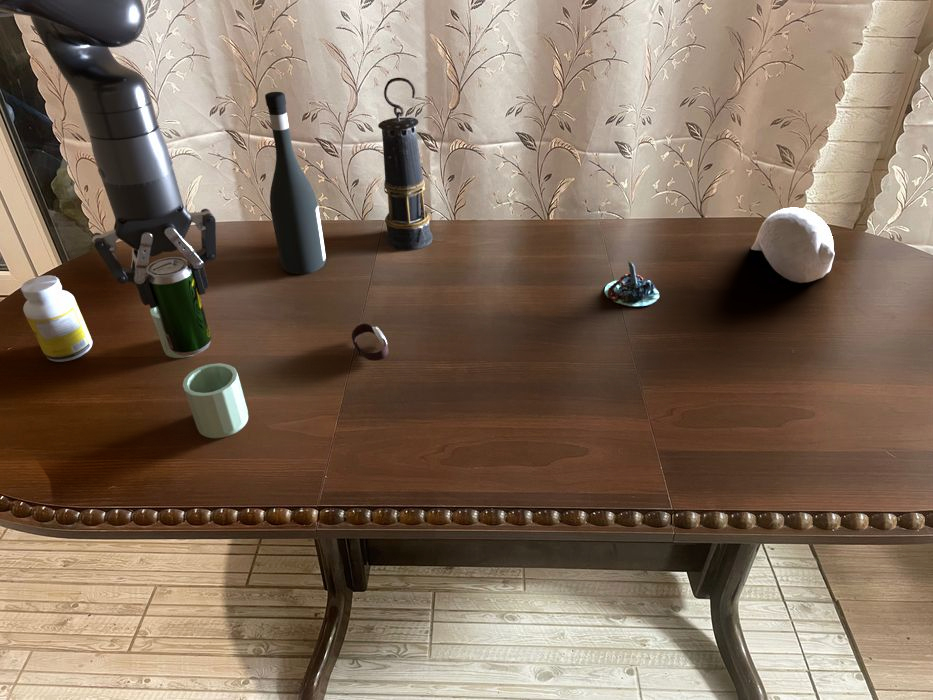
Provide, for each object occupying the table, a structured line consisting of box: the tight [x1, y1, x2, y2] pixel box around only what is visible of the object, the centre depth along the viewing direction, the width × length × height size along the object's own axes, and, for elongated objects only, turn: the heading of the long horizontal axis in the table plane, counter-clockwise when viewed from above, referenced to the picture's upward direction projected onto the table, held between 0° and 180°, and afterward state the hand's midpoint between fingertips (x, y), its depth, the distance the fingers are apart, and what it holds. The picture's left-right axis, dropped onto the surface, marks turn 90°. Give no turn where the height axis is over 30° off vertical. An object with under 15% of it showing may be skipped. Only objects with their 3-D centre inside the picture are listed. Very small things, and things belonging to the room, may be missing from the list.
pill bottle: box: [20, 275, 93, 363], centre depth 94 cm, size 6×6×12 cm
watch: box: [351, 323, 389, 362], centre depth 96 cm, size 8×5×4 cm, turn 33°
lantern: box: [377, 77, 434, 251], centre depth 118 cm, size 9×9×30 cm
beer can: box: [146, 256, 212, 357], centre depth 84 cm, size 5×5×12 cm
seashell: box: [750, 207, 835, 284], centre depth 115 cm, size 15×14×15 cm
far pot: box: [149, 307, 197, 359], centre depth 96 cm, size 6×6×7 cm
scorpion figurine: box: [604, 261, 660, 307], centre depth 110 cm, size 8×7×8 cm
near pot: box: [182, 362, 249, 439], centre depth 83 cm, size 6×6×7 cm
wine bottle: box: [264, 91, 327, 275], centre depth 109 cm, size 8×8×30 cm
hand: (176, 297), depth 83 cm, fingers closed on beer can, 5 cm apart
